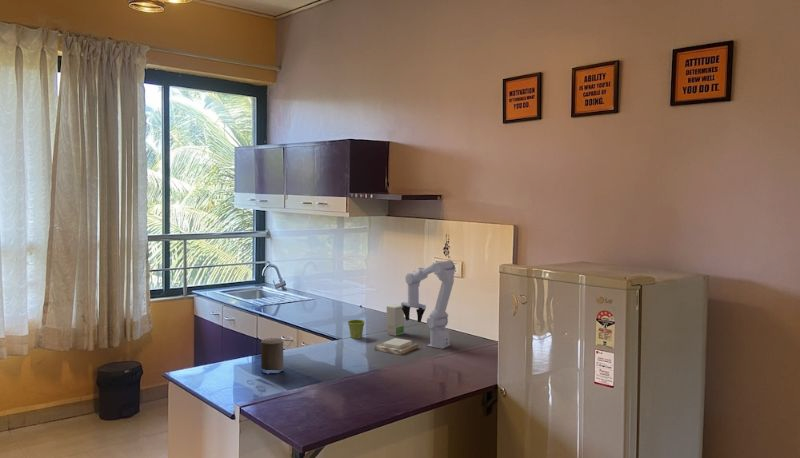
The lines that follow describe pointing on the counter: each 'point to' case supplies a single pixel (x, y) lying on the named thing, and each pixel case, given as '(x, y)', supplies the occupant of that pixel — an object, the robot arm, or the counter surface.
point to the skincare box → (395, 320)
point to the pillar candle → (272, 354)
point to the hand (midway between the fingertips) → (413, 321)
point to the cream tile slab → (397, 343)
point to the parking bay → (396, 351)
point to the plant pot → (356, 328)
